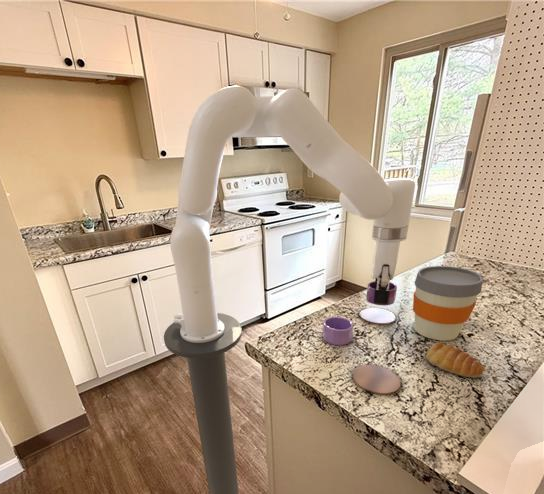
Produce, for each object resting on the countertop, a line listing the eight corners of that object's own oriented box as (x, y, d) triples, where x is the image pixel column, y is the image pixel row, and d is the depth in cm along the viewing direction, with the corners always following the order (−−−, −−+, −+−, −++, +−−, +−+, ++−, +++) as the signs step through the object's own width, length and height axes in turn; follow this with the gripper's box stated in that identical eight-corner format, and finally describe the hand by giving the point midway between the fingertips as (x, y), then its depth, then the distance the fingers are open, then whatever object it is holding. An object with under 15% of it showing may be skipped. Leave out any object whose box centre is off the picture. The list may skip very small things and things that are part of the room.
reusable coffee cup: (398, 318, 84) (407, 266, 78) (450, 318, 82) (464, 264, 75) (418, 344, 73) (431, 286, 67) (479, 345, 71) (498, 284, 64)
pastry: (488, 370, 63) (493, 355, 61) (473, 385, 60) (478, 369, 58) (436, 350, 70) (440, 336, 69) (421, 362, 67) (424, 348, 66)
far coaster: (358, 321, 85) (358, 320, 85) (360, 307, 92) (360, 306, 92) (395, 326, 81) (396, 325, 81) (394, 311, 88) (394, 310, 88)
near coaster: (351, 388, 63) (351, 386, 63) (354, 363, 70) (354, 361, 69) (401, 399, 59) (401, 397, 59) (399, 371, 66) (399, 369, 66)
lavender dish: (321, 342, 78) (321, 328, 76) (324, 329, 83) (325, 315, 82) (350, 347, 75) (351, 332, 73) (352, 332, 80) (353, 318, 79)
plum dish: (365, 304, 83) (367, 289, 81) (366, 293, 88) (368, 280, 86) (394, 306, 80) (397, 292, 78) (394, 295, 85) (396, 281, 83)
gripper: (373, 224, 85) (366, 283, 92) (371, 241, 71) (363, 310, 79) (405, 223, 81) (395, 285, 89) (410, 242, 68) (397, 313, 75)
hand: (380, 296), depth 84 cm, fingers closed on plum dish, 6 cm apart
